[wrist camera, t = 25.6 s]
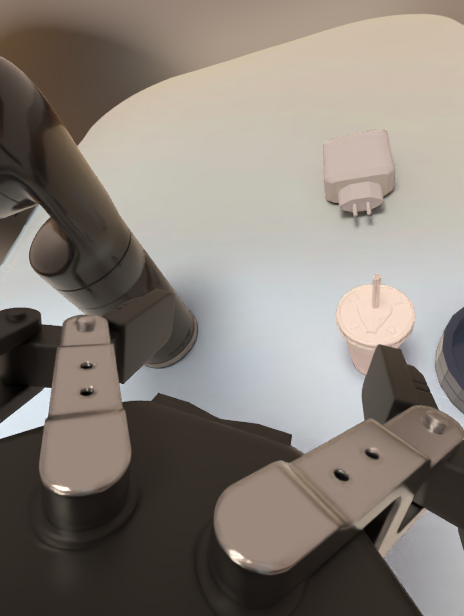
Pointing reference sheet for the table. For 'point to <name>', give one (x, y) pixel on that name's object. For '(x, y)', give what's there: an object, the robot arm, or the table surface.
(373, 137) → the charger
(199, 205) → the table surface
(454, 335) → the pot
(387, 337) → the smoothie
